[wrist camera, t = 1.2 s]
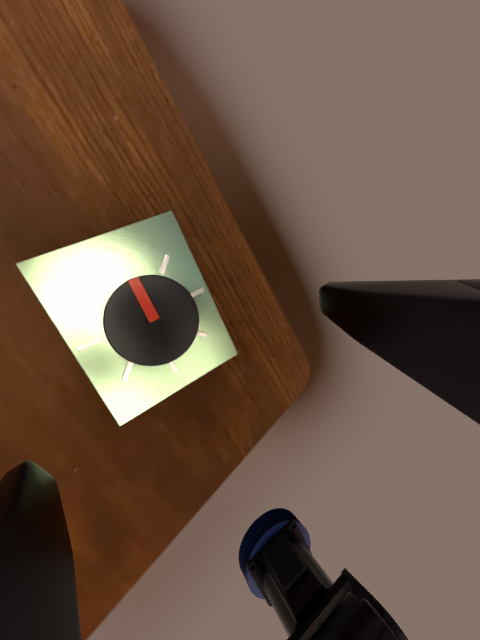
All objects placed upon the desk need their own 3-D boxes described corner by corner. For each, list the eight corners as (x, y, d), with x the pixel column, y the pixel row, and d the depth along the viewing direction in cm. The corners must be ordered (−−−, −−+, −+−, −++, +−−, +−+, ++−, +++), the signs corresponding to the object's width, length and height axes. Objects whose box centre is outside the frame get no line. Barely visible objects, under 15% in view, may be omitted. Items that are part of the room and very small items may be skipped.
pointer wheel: (193, 331, 20) (215, 339, 15) (129, 365, 18) (133, 386, 14) (162, 269, 18) (176, 259, 14) (90, 299, 17) (81, 298, 12)
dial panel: (224, 348, 24) (239, 354, 21) (119, 410, 21) (119, 428, 18) (165, 221, 21) (172, 209, 18) (29, 269, 18) (13, 263, 15)
